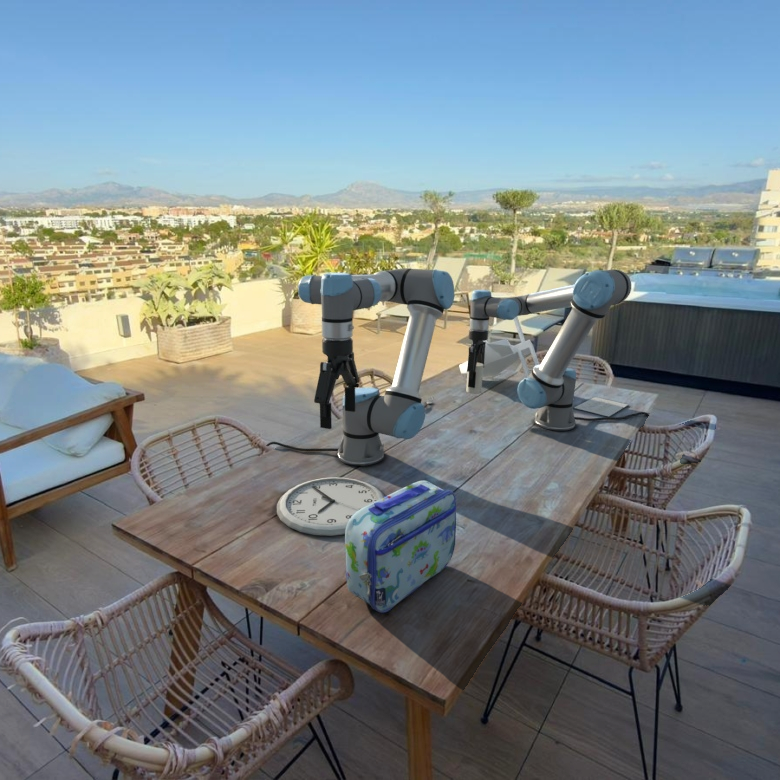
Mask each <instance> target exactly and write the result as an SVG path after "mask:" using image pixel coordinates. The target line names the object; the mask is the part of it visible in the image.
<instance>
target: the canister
mask: <svg viewBox="0 0 780 780" xmlns="http://www.w3.org/2000/svg"><path fill="white" fill-rule="evenodd" d="M475 372H476V381H475V388H471V387H468V380H469V372H468V373H467V379H466V386H465V387H466V389H465V392H467V394H473V395H474V394H475V395H477V394H478V395H479V394H481V393H482V391H483V390H482V388H483V378H484V377H483V364H482V363H478V362H477V365H476V370H475Z"/></svg>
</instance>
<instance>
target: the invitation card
mask: <svg viewBox="0 0 780 780" xmlns="http://www.w3.org/2000/svg"><path fill="white" fill-rule="evenodd" d="M628 406H629V404H627V403H623V402H618V401H614V400H609V399H605V398H601V397H596V396H593V397H592V398H590V399H588V400H586V401H584V402H582V403H580V404H578V405H575V406H574V407H573V409H575V410H581V411H584V412H587V413H593V414H596V415H600V416H604V417H612V416H613V415H614V414H616V413H617V412H619V411H621V410H623V409H624V408H626V407H628Z"/></svg>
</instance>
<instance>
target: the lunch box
mask: <svg viewBox="0 0 780 780" xmlns="http://www.w3.org/2000/svg"><path fill="white" fill-rule="evenodd" d="M456 531H457V499H456V495H455V493H454V492H453V490H450V489H442V488H440V487H439V486H437V485H435V484H433V483H432V482H430V481H428V480H418V481H416V482H413V483H410V484H409V485H406V486H405V487H402V488H400V489H398V490H396V491H394V492H392V493H390V494H388V495H385V497H384V498H382V499H380V500H378V501H376V502H374V503H372V504H370V505H368V506H366V507H364V508H362V509H360V510H358V511H357V512H355V513H354V514H353V515H352V517H351V518H350V520H349V522H348V524H347V527H346V531H345V534H344V552H345V577H346V578H345V580H346V586H347V589H348V592H349V593H350V594H352V595H354V596H356V597H357V598H359V599H361V600H363V602H365V603H367V604H368V605H370V607H371V608H372V609H373V610H375V611H376V612H378V613H380V614H382V613H383V614H385V613H387V612H389V611H391V609H393V608H394V607H395V606H396V605H397V604H400V602H401V601H402V600H404V599H406V597H409V596H410V595H411V594H412V593H414V592H415V591H416V590H417V589H418V588H420V587H421V586H422V585H423V584H424V583H425V582H427V581H428V580H430V579H432V578H433V577H434V576H436V575H437V574H439V573H441V572H442V571H443V570H445V568H446V567H447V566H448V564H449V563H450V561H451V560H452V557H453V554H454V551H455V548H456V547H455V546H456Z"/></svg>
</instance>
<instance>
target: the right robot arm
mask: <svg viewBox="0 0 780 780" xmlns="http://www.w3.org/2000/svg"><path fill="white" fill-rule="evenodd" d="M631 292H632V280H631V279H630V276H628V274H627V273H626V272H625V271H623V270H620V269H605V270H602V269H596V270H591V271H588V272H586V273H584V274H582V275H581V276H580V277H579V278H577V279H576V281H575V283H574V284H571V285H566V286H561V287H557V288H552V289H547V290H543V291H542V290H541V291H538V292H533V293H528V294H523V295H519V296H511V297H502V298H501V297H495V296H492V291H491V290H487V289H474V290H473V291H472V292H471V299H470V315H469V316H470V317H469V320H468V323H469V330H468V339H469V340H471V341H472V342H471V345H470V346H469V347H468V356H467V357H468V358H467V361H468V366H467V372H469V380H468V387H471V388H475V381H476V372H475V370H476V365H477V362H478V363H482V364H483V365H484V358H485V345H486V342H483V341H485V340H487V341H488V339H489V338H488V337H489V331H488V330H489V328H490V318H495V319H499V320H500V319H501V320H503V321H512V320H513V321H514V318H515V317H516V316H517V317H521V316H527V315H532V314H536V313H541V312H547V311H553V310H554V311H555V310H559V309H564V308H572V309H571V311H570V312H569V313H568V316H566V317H567V318H566V319H565V321H564V323H563V324H562V326H561V328H560V329H559V332H558V333H557V335H556V336H555V338H554V340H553V341H552V343H551V345H550V347H549V349H548V350H547V352H546V354H545V355H544V357H543V359H542V361H541V363H539V364H540V365H536V366H535V365H534V367H532V370H531V371H530V372H529V373H530V375H529V377H528V378H526V377H524V378H523V379H521V380H520V382H519V383H518V385H517V390H516V391H517V395H518V399H519V401H520V402H521V403H522V404H523V405H524V406H525V407H527V408H529V409H531V410H536V409H538V410H537V411H535V417H534V424H535V425H536V426H537V427H539V428H542V429H544V430H549V431H556V432H567V431H572V430H574V429H575V428H576V420H577V421H578V420H579V421H584V422H591V421H592V422H595V421H615V420H616V421H621V420H626V419H629V418H631V417H636V416H640V415H644V416H645V417H650V414H649V413H648V412H645V411H639V412H635V413H630V414H627V415H625V416H618V417H617V416H615V417H614V416H609V417H608V416H604V417H593V418H592V417H591V418H590V417H588V418H587V417H580V416H575V413H574V407H573V405H574V398H575V391H576V383H577V372H576V370H575V369H573V368H571V367H569V366H570V364H571V362H572V361H573V359H574V358H575V356H576V355H577V353H578V351H579V350H580V348H581V346H582V345H583V343H584V341H585V340H586V338H587V337H588V335H589V333H590V332H591V330H592V329H593V326H594V325H595V324H596V322H597V321H599V320H603V319H604V318H605V316H606V315H607V313H608V312H609V310H610V309H611V307H612V306H616V305H620V304H621V303H623V302H624V301H625V300H627V299H628V298H629V296H630V294H631ZM483 368H484V366H483Z"/></svg>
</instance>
